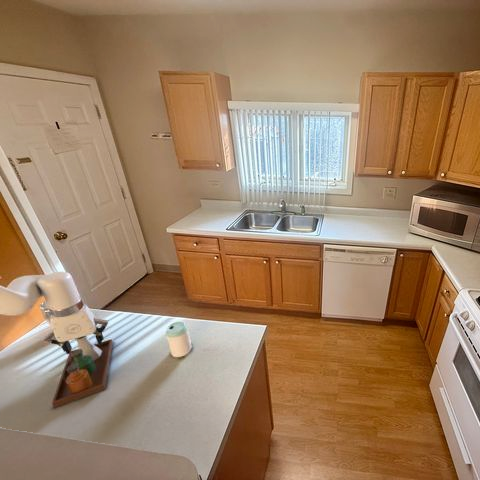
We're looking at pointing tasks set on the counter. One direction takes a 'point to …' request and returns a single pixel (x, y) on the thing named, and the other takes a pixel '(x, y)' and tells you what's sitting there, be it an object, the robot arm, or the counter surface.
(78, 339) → the flask
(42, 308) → the beer glass
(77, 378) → the amber bottle
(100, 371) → the tray
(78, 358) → the green bottle
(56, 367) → the counter surface
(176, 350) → the can
